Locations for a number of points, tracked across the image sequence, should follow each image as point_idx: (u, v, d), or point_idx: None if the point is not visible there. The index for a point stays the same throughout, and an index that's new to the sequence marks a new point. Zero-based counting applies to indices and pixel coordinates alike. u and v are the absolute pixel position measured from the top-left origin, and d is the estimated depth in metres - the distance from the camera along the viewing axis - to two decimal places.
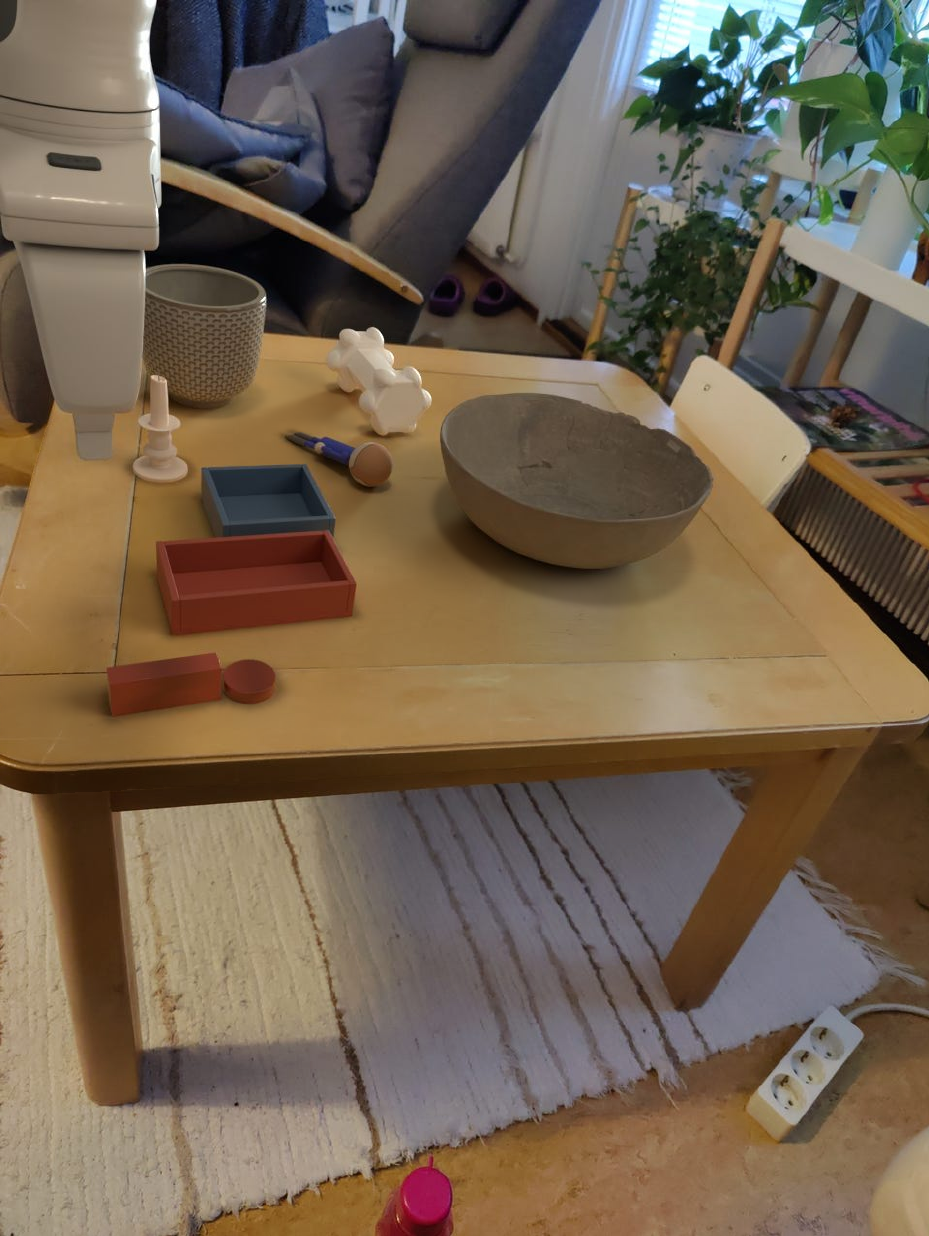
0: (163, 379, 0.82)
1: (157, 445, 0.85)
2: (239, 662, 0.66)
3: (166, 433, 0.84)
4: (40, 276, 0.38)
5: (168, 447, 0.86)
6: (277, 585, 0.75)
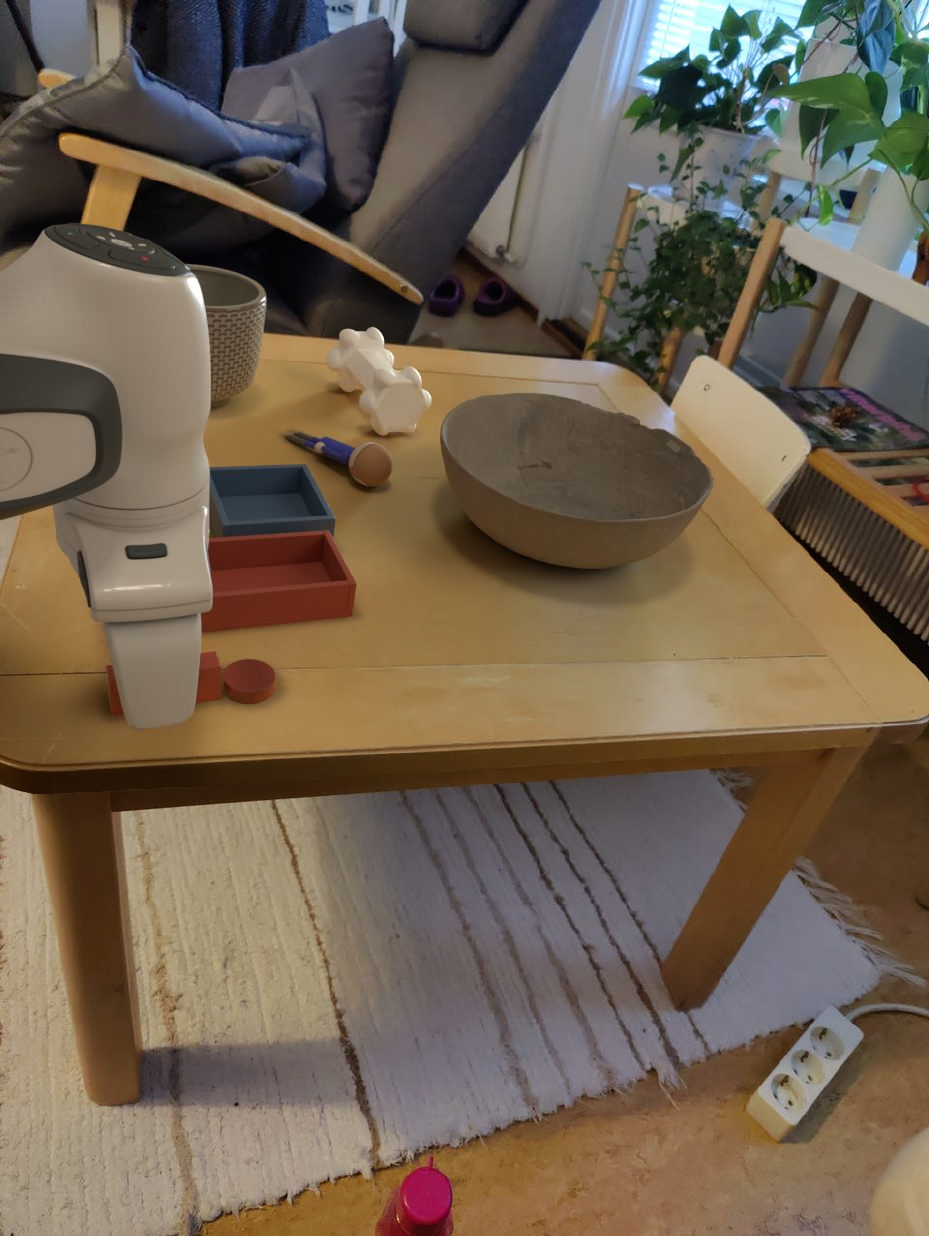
0: None
1: None
2: (239, 662, 0.66)
3: None
4: (121, 647, 0.47)
5: None
6: (277, 585, 0.75)
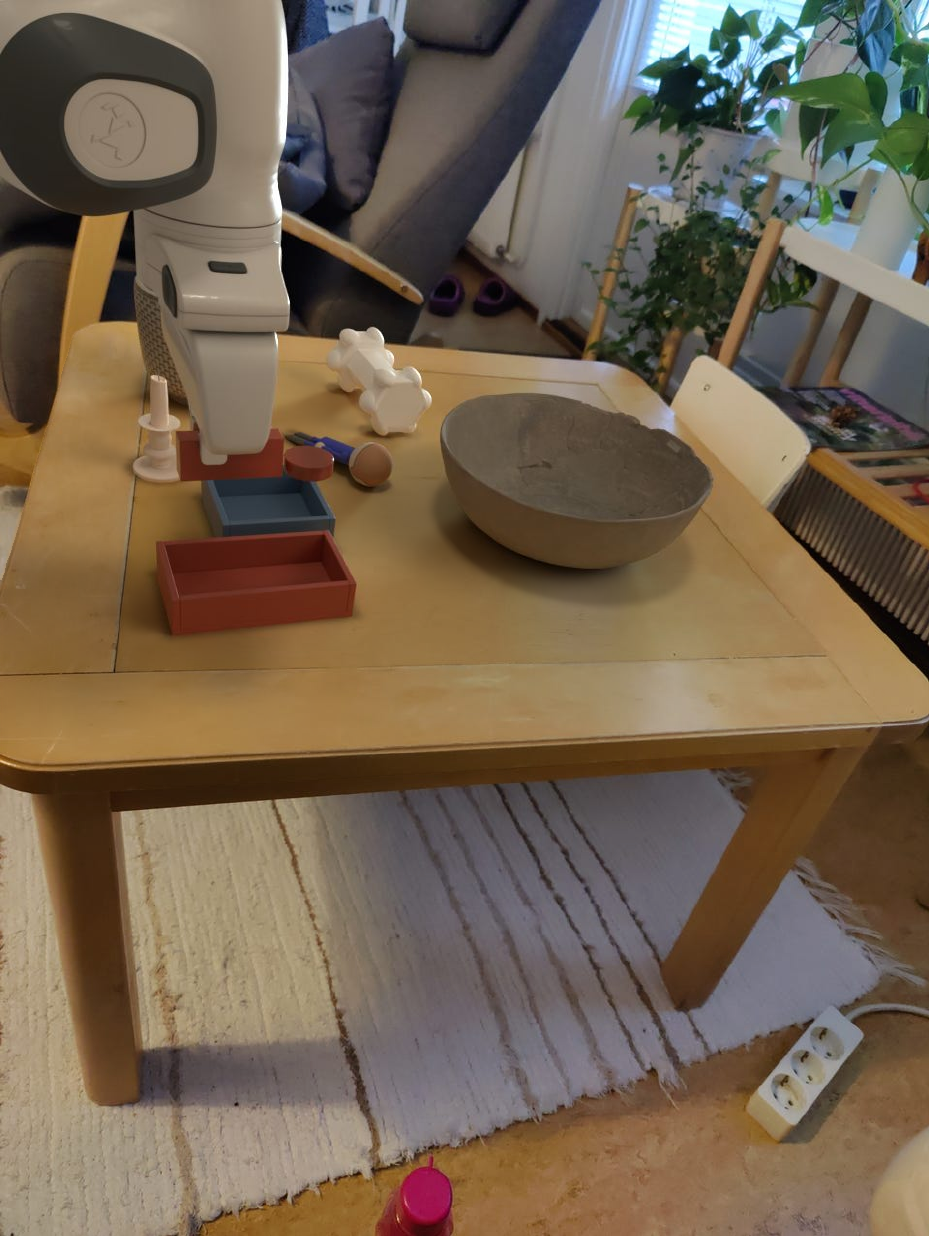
0: (163, 379, 0.82)
1: (157, 445, 0.85)
2: (298, 447, 0.68)
3: (166, 433, 0.84)
4: (205, 354, 0.50)
5: (168, 447, 0.86)
6: (277, 585, 0.75)
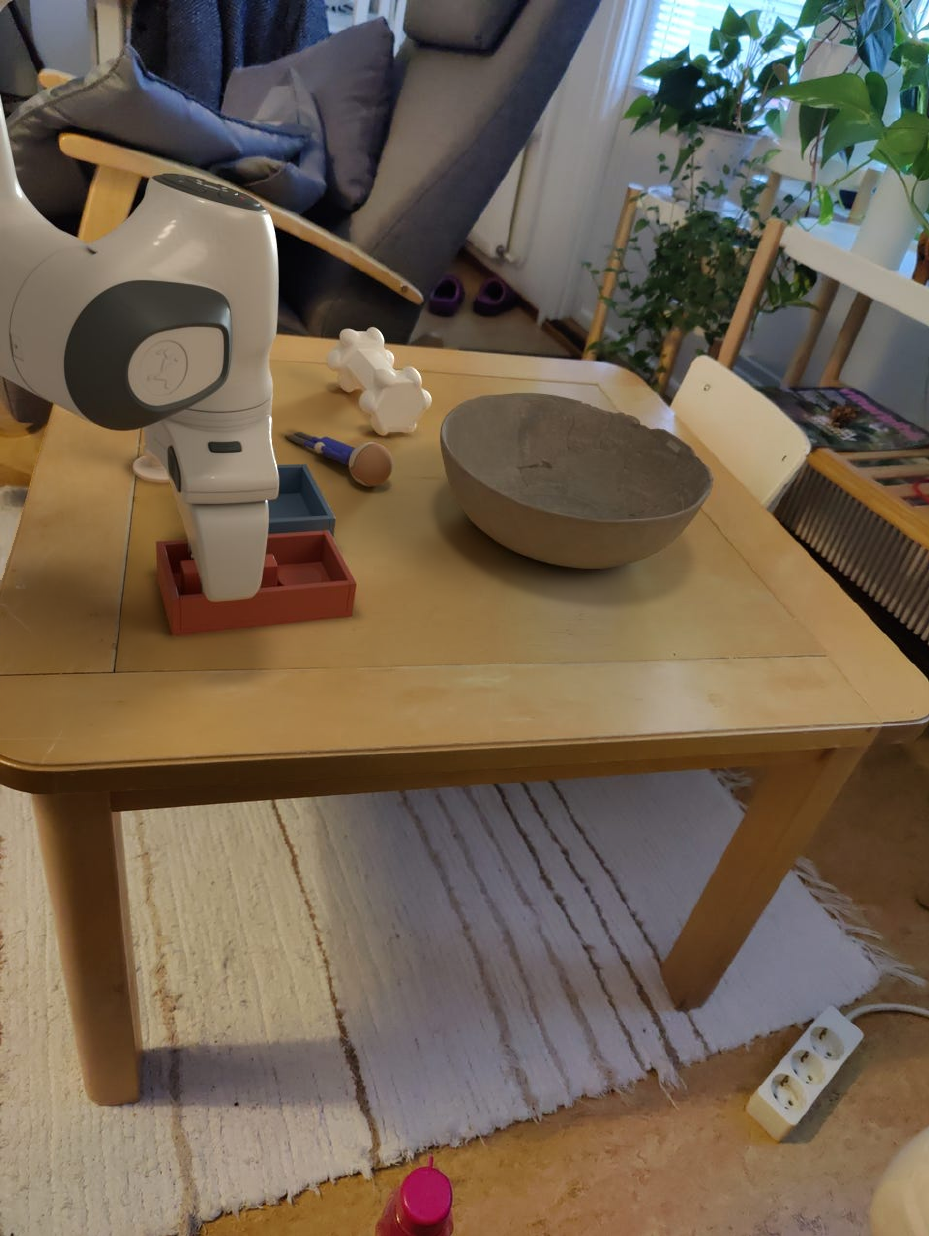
0: None
1: None
2: (290, 566, 0.76)
3: None
4: (205, 524, 0.58)
5: None
6: None
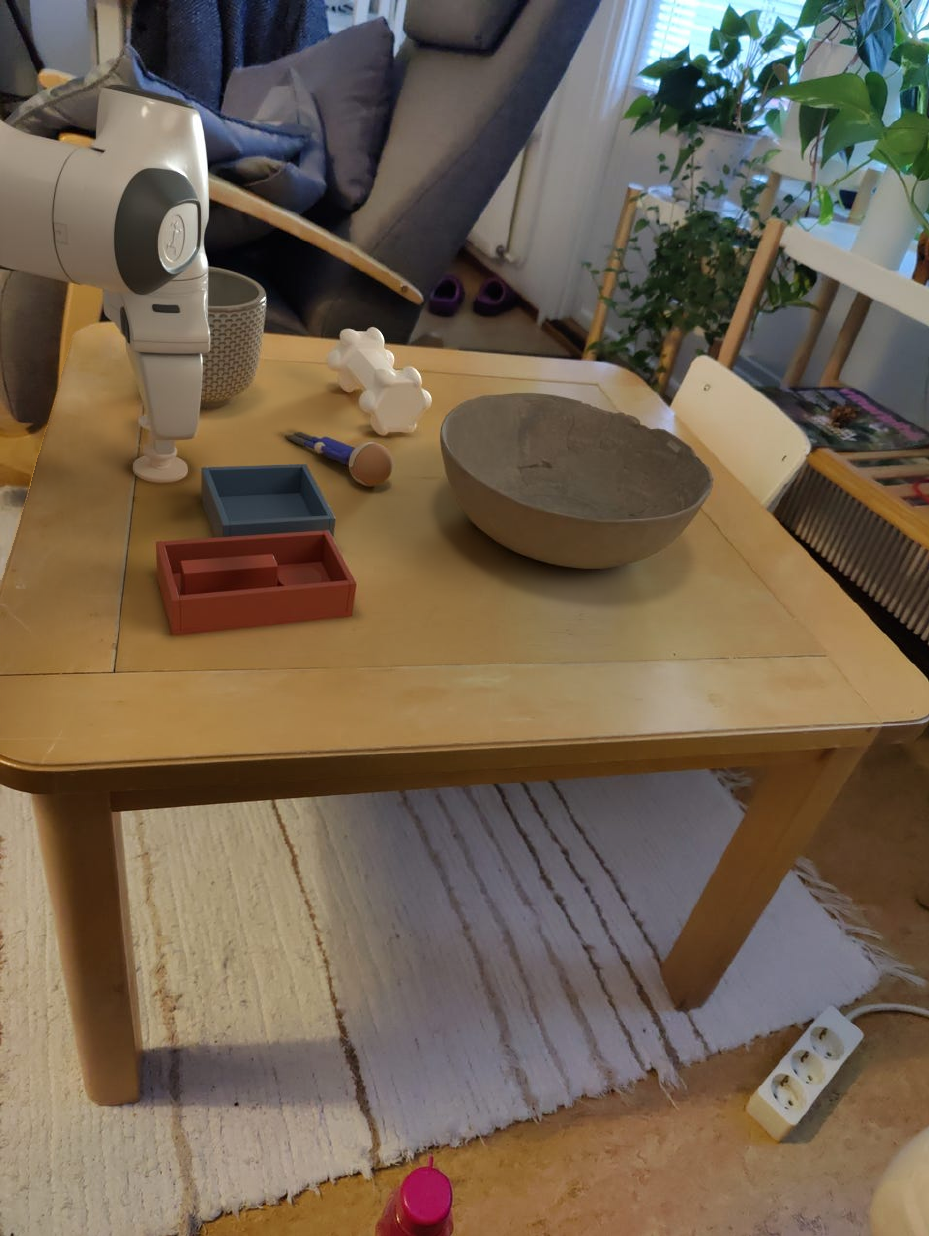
0: None
1: None
2: (290, 566, 0.76)
3: None
4: (149, 369, 0.72)
5: None
6: None
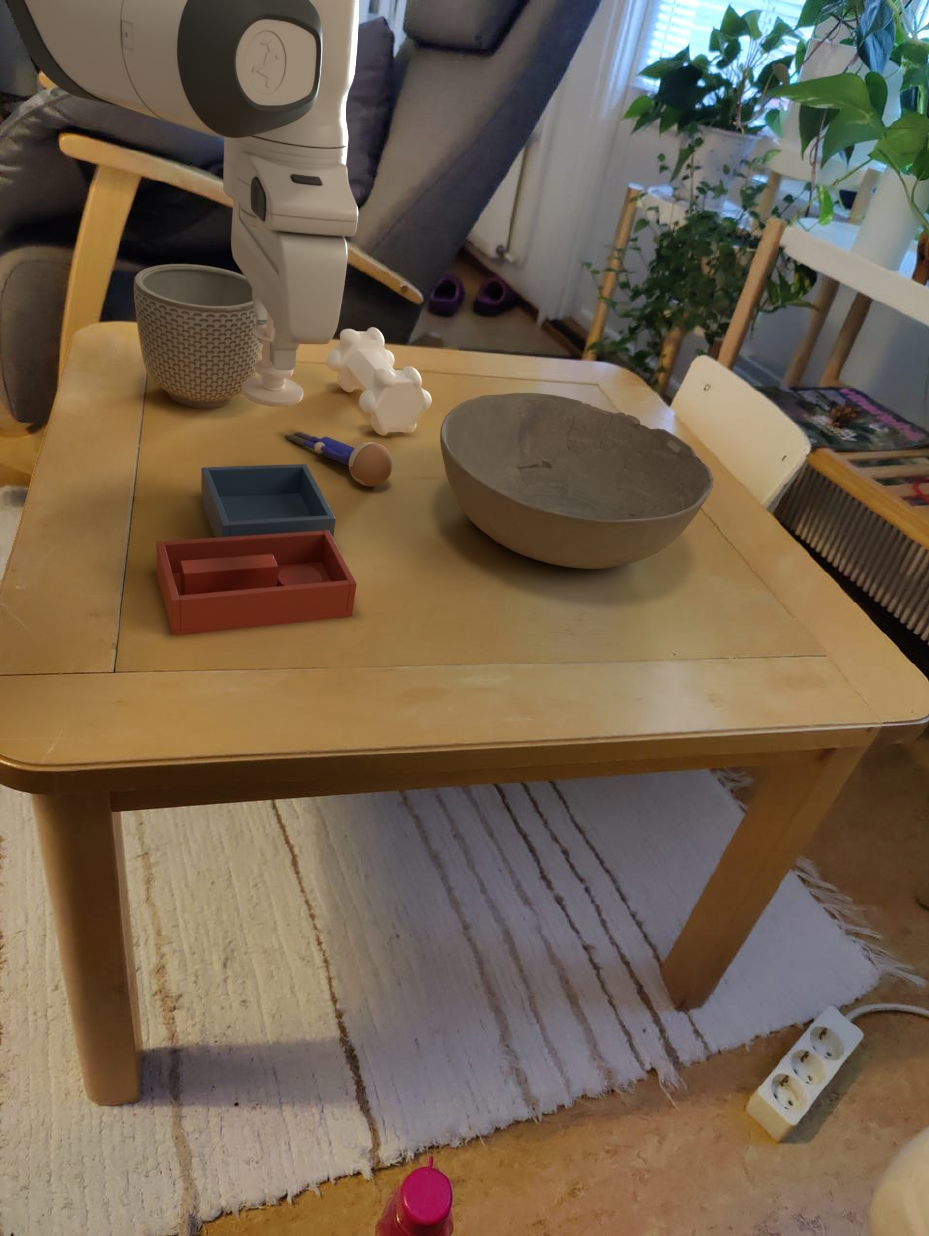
0: None
1: None
2: (290, 566, 0.76)
3: None
4: (288, 252, 0.60)
5: None
6: None
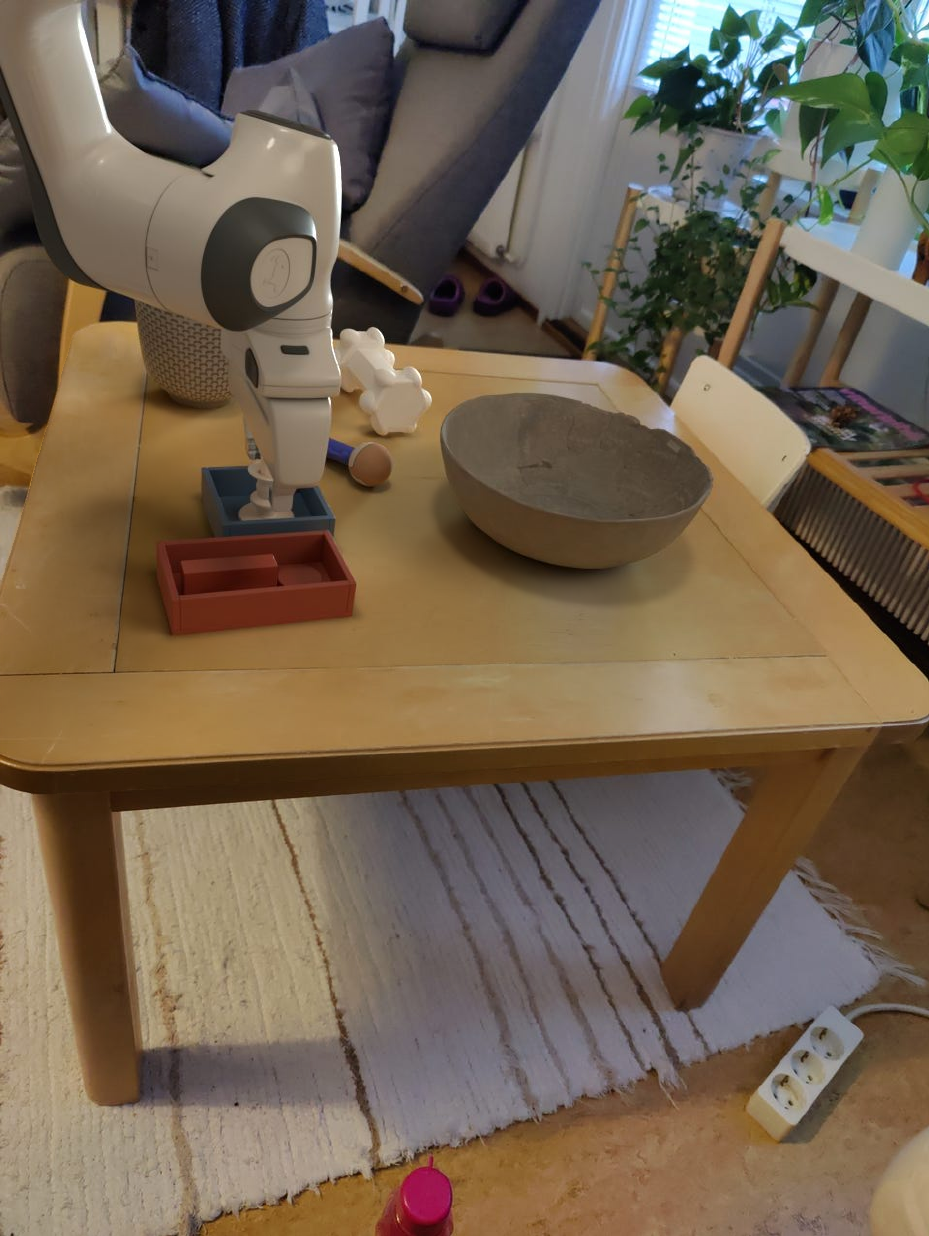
0: None
1: (267, 495, 0.80)
2: (290, 566, 0.76)
3: None
4: (278, 415, 0.67)
5: None
6: None
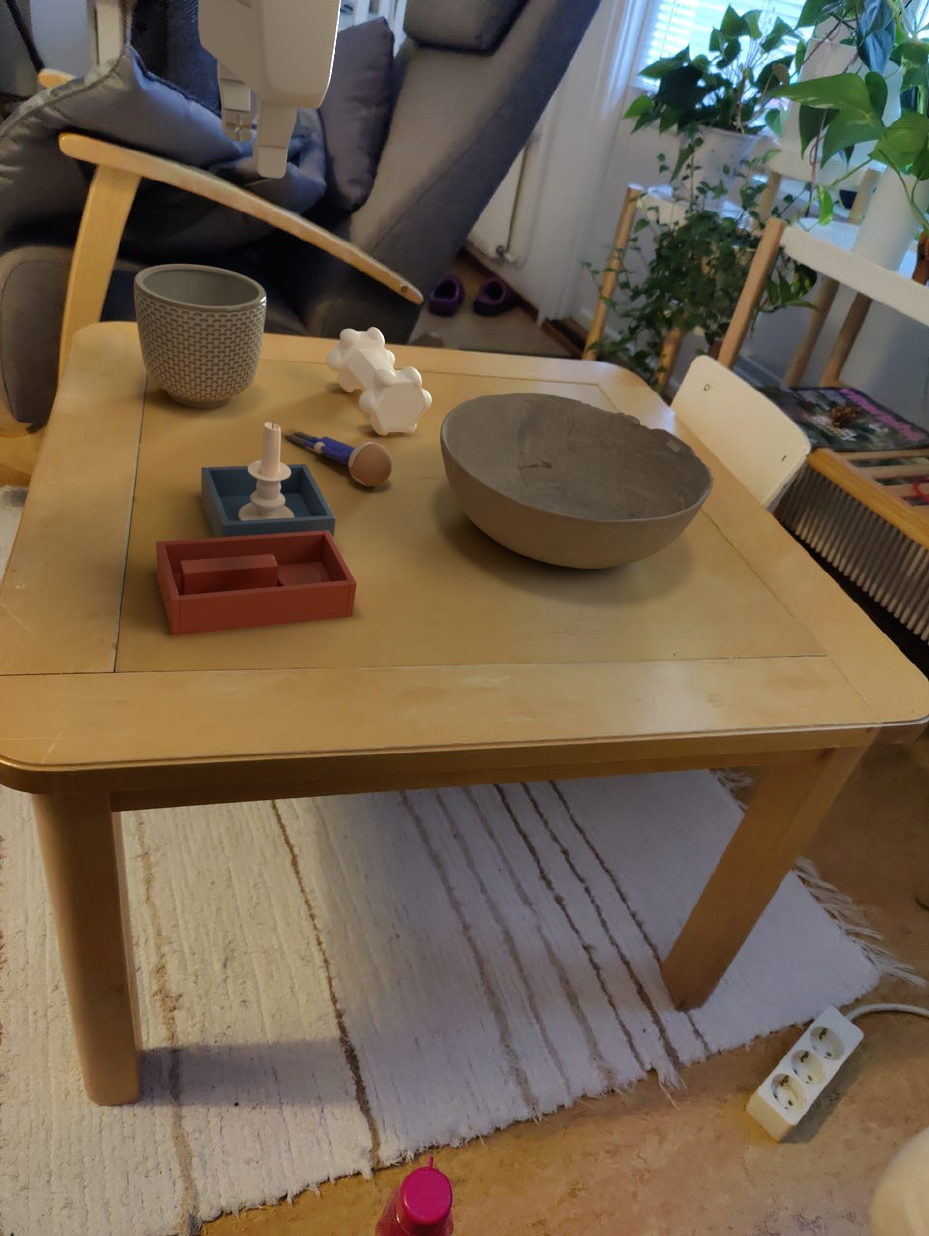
0: (276, 426, 0.78)
1: (267, 495, 0.80)
2: (290, 566, 0.76)
3: (276, 482, 0.80)
4: None
5: (277, 496, 0.81)
6: None
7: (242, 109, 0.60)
